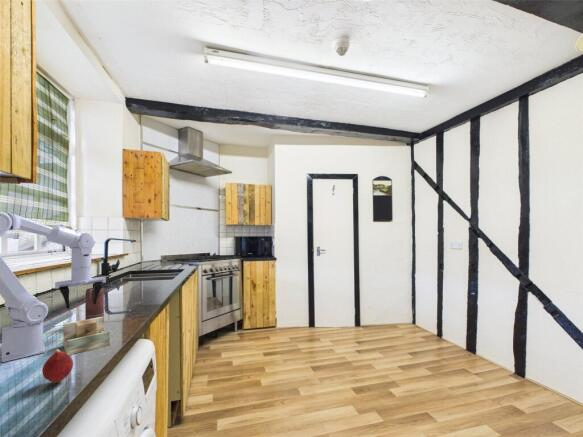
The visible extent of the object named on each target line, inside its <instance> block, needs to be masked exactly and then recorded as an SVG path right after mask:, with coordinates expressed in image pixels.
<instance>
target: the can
mask: <svg viewBox="0 0 583 437" xmlns="http://www.w3.org/2000/svg"><path fill="white" fill-rule="evenodd" d="M84 307H85V311H84V313H85V314H84V315H85V318H84V320H87V319H92V318H98V317H104V318H105V289H104V287H103V286H102V288H101V290H100V292H99V294H98V297H97V301H96V304H93V287H89V288H87V289H86V290H85V306H84Z"/></svg>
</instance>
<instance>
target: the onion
mask: <svg viewBox="0 0 583 437" xmlns="http://www.w3.org/2000/svg"><path fill="white" fill-rule="evenodd" d="M73 365H74V361H73V359H72V357H71V355H68V354H66V352H62V351H61V350H60V349H58V348H57V349H55V351H54V353H53V354H52V355H51V356H50V357H49V358H48V359H47V360H46V361H45V362H44V364H43V366H42V370H41V373H42V375H43V378H44V379H45V380H47V381H49V382H51V383H53V384H59V383H60V382H61V381H62V380H64V379H65V378H67V376H68V375H70V373H71V372H72V370H73Z"/></svg>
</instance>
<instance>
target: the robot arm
mask: <svg viewBox="0 0 583 437" xmlns="http://www.w3.org/2000/svg"><path fill="white" fill-rule="evenodd" d="M66 226H67V225H65V224H56V225H53V226H49V225H46V224H43V223H41V222H37V221H35V220H32V219H30V218H26V217H24V216H20V215H18V214H15V213H8V212H5V211H1V210H0V238H2V236H4V235H5V234H6V233H7V232H8V231H9V230H10V231H14V230H20V231H23V232H26V233H27V232H28V233H32V234H36V235H40V236H44V237H45V238H46V240H47V241H48V242H50V243H53V244H58V245H61V246H65V247H69V249H70V250H71V256H70V259H71V260H70V261H71V270H70V271H71V277H70V280H69V279H68V280H62V281H61V280H60V281H55V282H54V288H55V290H56V289H58V290H59V291H60V294H61V295H62V297H63V299H64V302H65V307H66V308H65V309H68V310H69V309H70V299H69V298H70V288H69V287H76V286H85V285H92V288H93V304H96V301H97V297H98V294H99V292H100V290H101V288H102V287H103V286H104V283H105V284H106V282H107V276H98V277H97V276H96V277H92V253H93V247H94V246H95V244H96V240H95V239H94V236H92V234H90V233H87V232H85V233H82V232H81V231H80V230H78V229H75V230H74V229H72V228H68V227H66ZM0 296H1V298H2V299H3V300H4V306H5V308H6V309H7V316H8V318H9V319H10V320H12V321H11V325H9V326H5V327H2V331H1V347H0V355H1V363H5V362H9V361H13V360H18V359H22V358H26V357H31V356H36V355H40V354H44V353H46V348H45V343H44V319H45V318H46V317H47V315H48V312H49V307H48V305H47V304H46V303H45V302H42V301H40V300H38V298H37V297H36V296H35V295H34V294H32V293H30V292H29V291H28V290H27V288H25V286H24V285H23V283H22V282H21V281H20V280H19V278H18V277H17V276H16V274H15V273H14V272H13V271H12V270H11V268H10V267H9V266H8V264H7V262H6V261H5V260H4V259H3V257H2V256H1V255H0Z"/></svg>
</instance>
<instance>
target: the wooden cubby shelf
mask: <svg viewBox="0 0 583 437" xmlns="http://www.w3.org/2000/svg"><path fill="white" fill-rule="evenodd" d="M92 319H94V320H95V321H96V322H97V334H94V335H89V336H85V337H80V338H75V322H81V321H86V320H85V319H83V320H77V321H72V322H66V323H63V329H62V331H63V332H62V334H63V335H62V341H63V342H62V346H64V347H63V348H64V351H65V352H64V353H66V354H68V355H69V356H71V355H75V354H79V353H83V352H87V351H90V350H95V349H99V348H103V347H107V346H110V345H111V342H110V339H111V338H110V337H111V336H110V335H111V334H110V333H111V332H110V330H108V331H105V316H104V317H98V318H92ZM87 320H91V319H87ZM74 353H75V354H74Z"/></svg>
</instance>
